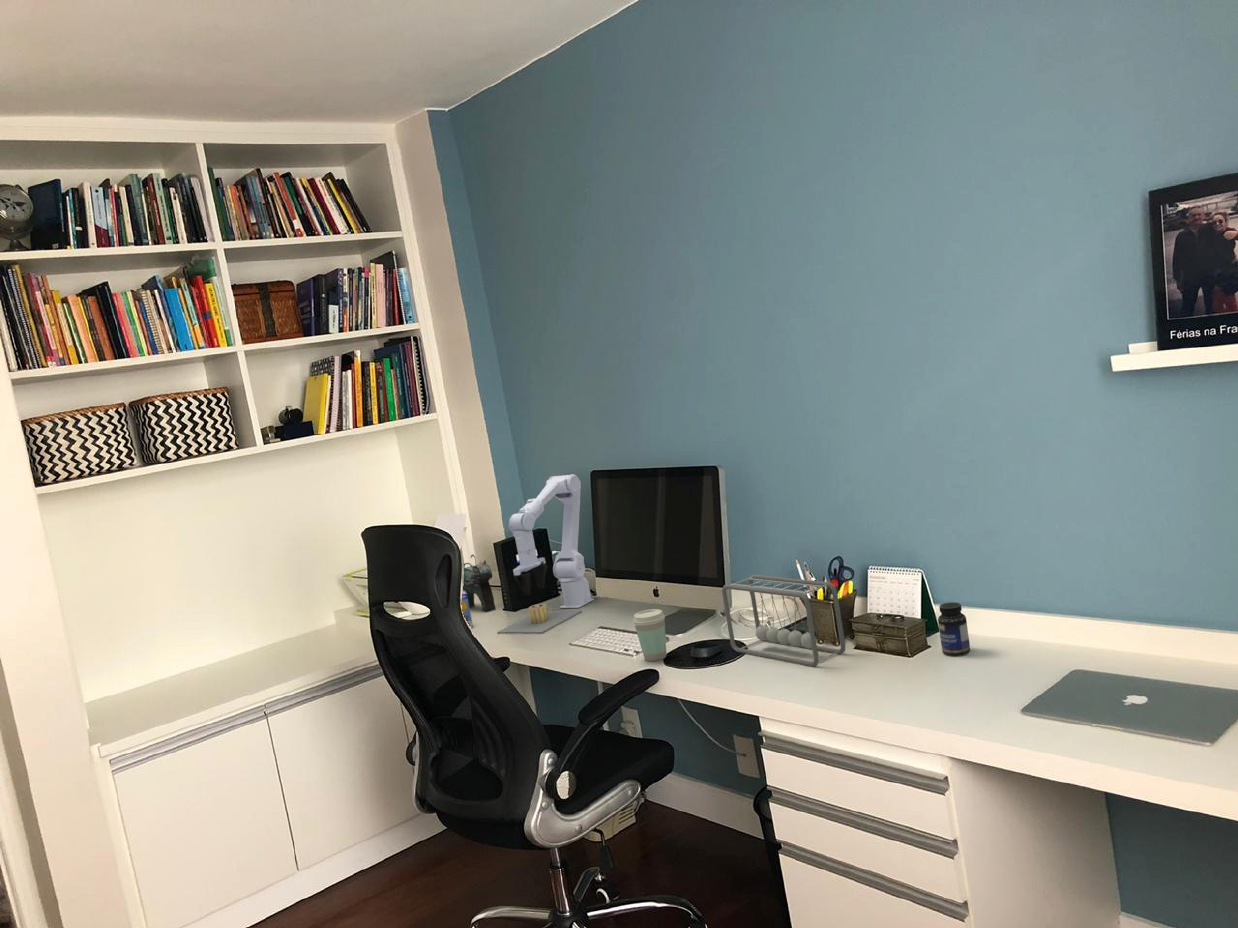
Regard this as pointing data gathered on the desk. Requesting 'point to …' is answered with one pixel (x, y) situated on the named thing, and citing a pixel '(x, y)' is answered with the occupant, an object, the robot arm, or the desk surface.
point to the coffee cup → (651, 633)
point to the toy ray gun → (479, 585)
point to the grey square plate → (540, 628)
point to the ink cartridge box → (466, 609)
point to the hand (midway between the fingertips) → (534, 591)
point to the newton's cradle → (784, 635)
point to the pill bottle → (953, 630)
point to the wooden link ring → (538, 614)
